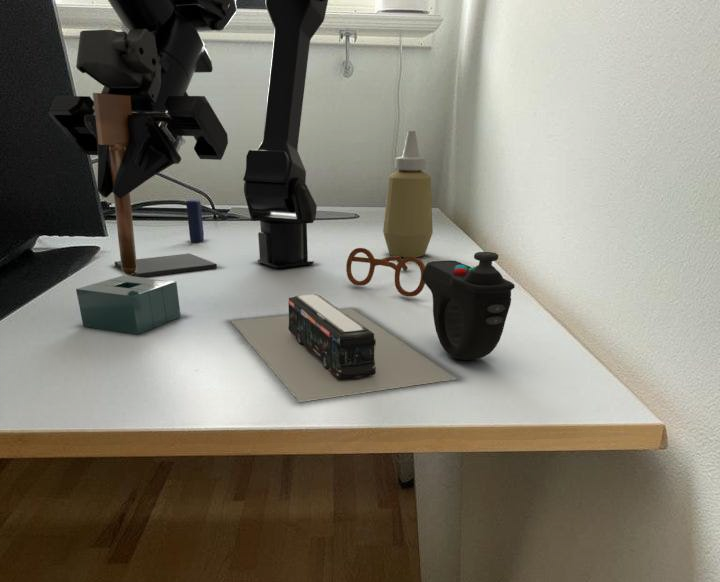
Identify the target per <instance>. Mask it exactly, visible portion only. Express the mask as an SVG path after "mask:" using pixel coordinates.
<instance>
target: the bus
mask: <svg viewBox="0 0 720 582" xmlns="http://www.w3.org/2000/svg"><path fill="white" fill-rule="evenodd" d="M230 322H231V323H232V324H233V326H234V327H235V328H236V329H237V330H238V331H239V332H240V334H241V335H242V336H243V337H244V338H245V339H246V341H247V342H248V344H250V345H251V347H252V348H253V349H254V350H255V352H257V354H258V355H259V356H260V357H261V358H262V359H263V361H264V362H265V363H266V364H267V366H268V367H269V368H270V369H271V371H273V373H274V374H275V375H276V376H277V377H278V378H279V380H280V381H281V382H282V383H283V384H284V386H285V387H286V388H287V389H288V390H289V392H291V394H292V395H293V396H294V397H295V398H296V400H297V401H298V402H299V403H301V402H302V403H303V402H309V401H316V400H323V399H330V398H337V397H344V396H350V395H351V396H352V395H358V394H363V393H371V392H377V391H385V390H392V389H397V388H399V389H400V388H406V387H412V386H418V385H419V386H421V385H425V384H426V385H427V384H432V383H441V382H445V381H454V380H457V378H456V377H455V376H453V375H452V374H450V373H449V372H447V371H446V370H444V369H443V368H441V367H440V366H438V365H437V364H435V363H434V362H433V361H431V360H430V359H428V358H426V357H425V356H423V355H422V354H421V353H419V352H417V351H416V350H414V349H413V348H411V346H409V345H407V344H405V343H404V342H402V341H401V340H400V339H398V338H396V337H395V336H393V335H392V334H391V333H388V332H387V331H386V330H384V329H383V328H382V327H380V326H378V325H377V324H376V323H374V322H373V321H371V320H370V319H368V318H367V317H365V316H364V315H362V314H360V313H359V312H357V311H356V310H354V309H353V308H348V309H339V308H338V307H337V306H335V305H334V304H332V303H331V302H330V301H328V300H327V299H325V298H324V297H322V296H321V295H319V294H315V293H313V294H303V295H295V296H292V297H288V314H287V315H286V314H285V315H277V316H267V317H258V318H257V317H256V318H246V319H237V320H231V321H230Z"/></svg>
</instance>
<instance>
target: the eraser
mask: <svg viewBox="0 0 720 582" xmlns="http://www.w3.org/2000/svg"><path fill="white" fill-rule="evenodd" d="M201 203H202V202H201V200H200V199H187V200H186V202H185V205H186V212H187V225H188V232H189V234H188V235H189V240H190V242H191V243H202V242H204V240H205V239H204V238H205V234H204V223H203V213H202V212H203V211H202V204H201Z"/></svg>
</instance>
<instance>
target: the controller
mask: <svg viewBox="0 0 720 582" xmlns="http://www.w3.org/2000/svg"><path fill="white" fill-rule="evenodd" d="M473 258H474V260H476V261H478V265H476V266H470V265H467V264H465V263H462V262H459V261H456V260H436V261H435V260H433V261H428V262H427V263H426V265H425V269H424V271H423V274H422V276H421V275H420V278H421V277H422V279H423V281H424V283H425V286H427V288H428V289H429V290H430V292H431V295H432V315H433V323H434V328H435V332H436V336H437V338H438V340H439V343H440V345H441V347H442V348H443V350H444V352H446V353H447V354H448V355H449V356H450V357H452V358H454V359H456V360H460V361H461V360H462V361H469V360H476V359H477V360H478V359H481V358H484V357H486V356H488V355H490V354H491V353H492V352H493V351H494V350H495V349H496V347H497V346H498V344H499V342H500V341H501V337H502V335H503V332H504V327H505V324H506V320H507V316H508V313H509V310H510V307H511V303H512V290H514V289H515V288H516V287H515V286H516V285H515V284H514V283H513V282H511V281H510V280H508V279H506V278H504V277H503V275H502V274H501V272H500V271H499V270H497V268H496V267H495V266H493V262H496V261H497V260H499V254H498V253H496V252H492V251H477V252H475V253H474V255H473Z"/></svg>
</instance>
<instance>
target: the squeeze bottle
mask: <svg viewBox="0 0 720 582" xmlns="http://www.w3.org/2000/svg"><path fill="white" fill-rule="evenodd" d="M403 146H404V147H403V151H402V156H399V157H398V156H397V157H395V167H394V168H395V170H396V171H394V172H392V173H391V174H390V175H389V177H388V184H387V193H386V201H385V208H384V209H385V211H384V217H383V219H384V220H383V228H382V232H383V233H382V234H383V237H384V241H385V243H386V247H387V251H388V255H390V256H399V257H400V258H402V259H403V258H406V257H415V258H419V257H423V256H425V255H426V252H427V249H428V248H429V243H430V241H431V239H432V236H433V232H434V231H433V229H434V228H433V203H432V202H433V201H432V177H431V176H430V174H428V173H427V172H424V171H425V170H426V160H427V159H426V157H422V156H420V153H419V152H420V151H419V146H418V138H417V131H416V130H408V131H407V134H406V138H405V142H404V145H403Z"/></svg>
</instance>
